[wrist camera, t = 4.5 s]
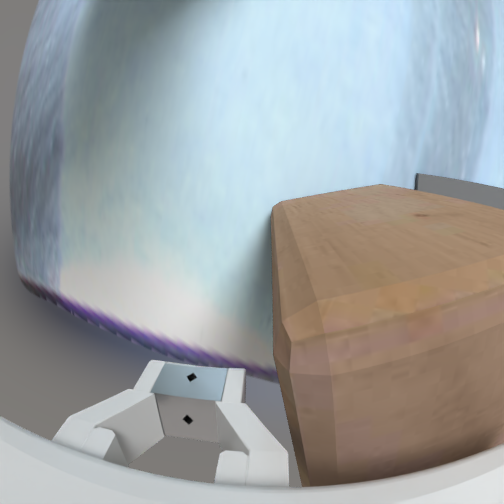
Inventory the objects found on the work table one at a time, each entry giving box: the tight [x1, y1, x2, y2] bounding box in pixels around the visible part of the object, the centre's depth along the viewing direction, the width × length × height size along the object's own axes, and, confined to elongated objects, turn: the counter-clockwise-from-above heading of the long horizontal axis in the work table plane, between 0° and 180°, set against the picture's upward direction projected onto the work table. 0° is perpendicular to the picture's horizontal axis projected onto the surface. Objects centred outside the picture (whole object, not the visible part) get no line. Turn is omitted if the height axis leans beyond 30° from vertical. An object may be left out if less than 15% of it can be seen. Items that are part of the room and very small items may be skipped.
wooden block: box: [271, 184, 504, 487], centre depth 15 cm, size 10×10×20 cm
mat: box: [416, 173, 504, 210], centre depth 24 cm, size 14×22×1 cm, turn 89°
